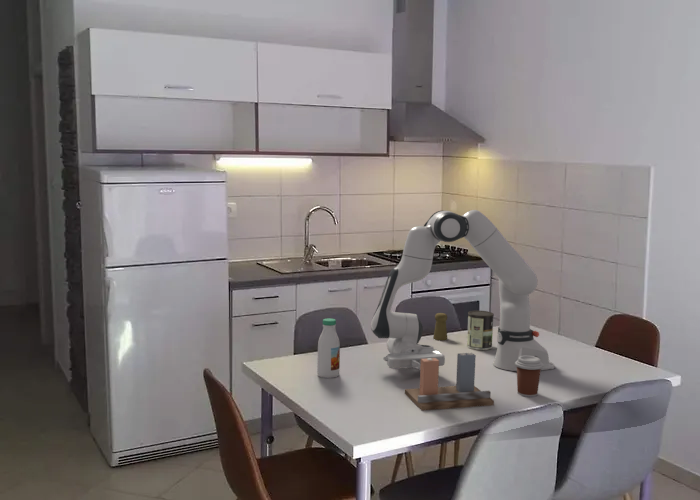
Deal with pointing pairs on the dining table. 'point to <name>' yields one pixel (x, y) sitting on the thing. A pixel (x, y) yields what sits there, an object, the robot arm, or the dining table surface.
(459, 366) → the tile two
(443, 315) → the pepper mill
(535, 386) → the coffee cup
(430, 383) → the tile one
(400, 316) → the robot arm
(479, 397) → the board
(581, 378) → the dining table surface
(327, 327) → the milk bottle
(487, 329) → the coffee can
